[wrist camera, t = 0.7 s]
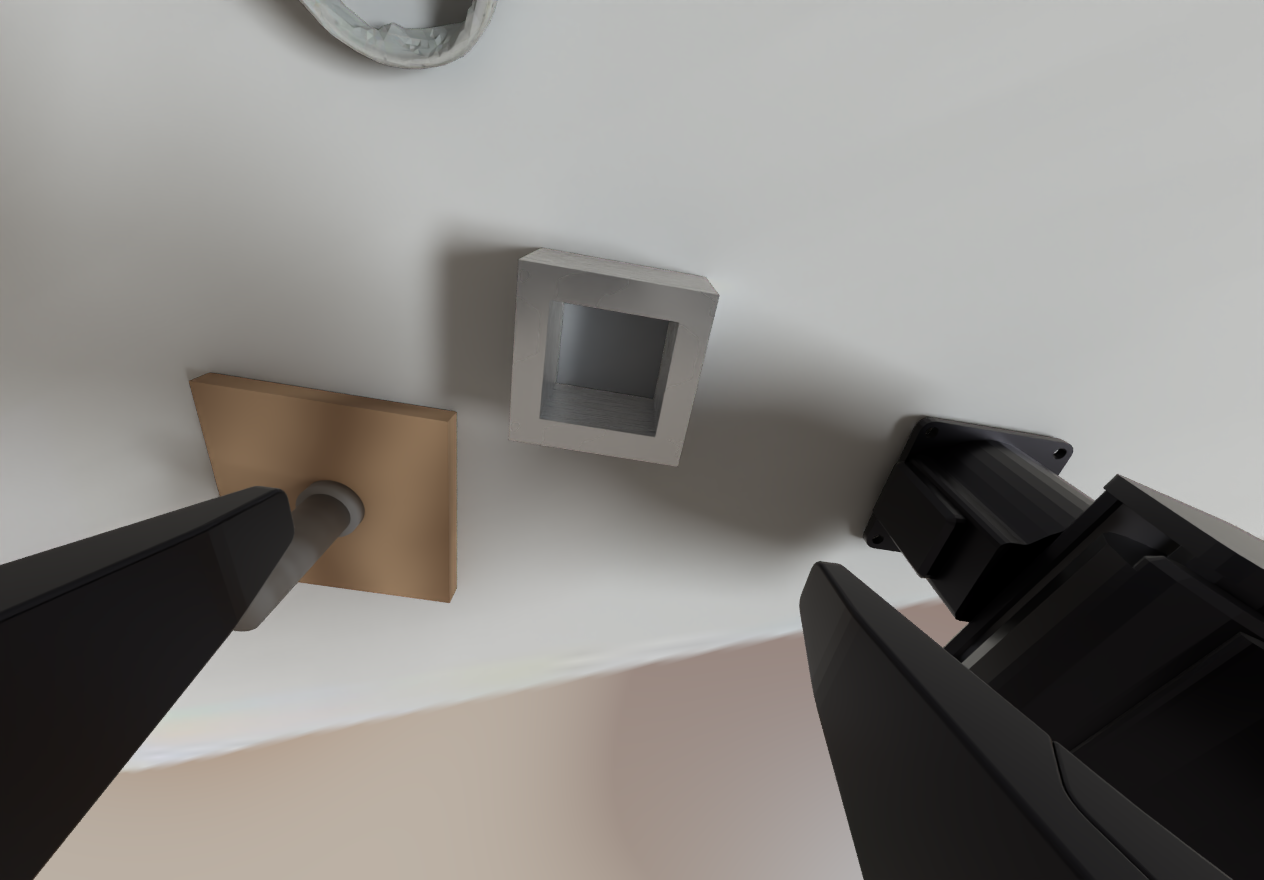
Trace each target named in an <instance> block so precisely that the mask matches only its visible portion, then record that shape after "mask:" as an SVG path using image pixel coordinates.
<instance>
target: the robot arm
mask: <svg viewBox="0 0 1264 880" xmlns="http://www.w3.org/2000/svg"><path fill="white" fill-rule="evenodd" d="M931 427H933V430H932V431H931V432H930V433H928V434H925V433H926V431H927V430H928V429H929V428H931ZM1058 449H1059V450H1058ZM1056 450H1058V451H1057V452H1056V453H1054V452H1055V451H1056ZM1072 453H1073V447H1072V446H1071V445H1070V444H1069V443H1067V442H1065V441H1064V440H1061V439H1058V438H1052V437H1046V436H1040V435H1034V434H1028V433H1022V432H1016V431H1010V430H1004V429H998V428H992V427H986V426H980V425H974V424H968V423H962V422H956V421H950V420H944V419H939V418H933V417H928V418H924V419H922V420H921V421H919V422H918V423H917V424H916V426H915V428H914V430H913V432H912V434H911V436H910V438H909V440H908V442H907V444H906V446H905V448H904V450H903V452H902V454H901V457H900V459H899V461H898V463H897V464H896V465H895V466H894V468H893V470H892V472H891V474H890V476H889V478H888V480H887V483H886V485H885V487H884V489H883V491H882V493H881V495H880V497H879V499H878V501H877V503H876V505H875V507H874V509H873V514H872V517H871V519H870V521H869V523H868V525H867V527H866V529H865V531H864V534H863V538H864V540H865V541H866V543H867V545H868V546H870V547H872V548H876V549H883V550H889V551H896V552H902V554H903V555H904V557H905V558H906V559H907V561H908V562H909V563H910V565H911V566H912V568H913V569H914V570H915V572H916V573H917V575H918V576H919V577H921V578H926V579H927V580H928V582H929V583H930V585H931V586H932V587H933V589H934V590H935V591H936V593H937V594H938V595H939V597H940V598H941V600H942V601H943V602H944V604H945V605H946V606H947V607H948V609H949V610H950V612H951V613H952V614H953V616H954V617H955V619H957V620H959V621H966V622H969V623H968V624H967V625H966V626H965V627H964V628H963V629H962V630H961V631H960V632H959V633H958V634H957V635H956V636H955V637H954V638H952V639H951V640H950V641H949V642H948V643H947V644H946V645H945V646H944V647H943V648H942V647H941V646H940V645H939V644H938V643H936V642H935V641H934V640H933V639H931V638H930V637H929V636H928V635H927V634H925V633H924V632H923V631H922V630H920V629H919V628H918V627H917V626H916V625H914V624H913V623H912V622H911V621H910V620H908V619H907V618H906V617H904V616H903V615H902V614H901V613H900V612H898V611H897V610H896V609H895V608H894V607H892V606H891V605H890V604H889V603H888V602H886V601H885V600H884V599H883V598H882V597H880V596H879V595H878V594H877V593H875V592H874V591H873V590H872V589H871V588H869V587H868V586H867V585H866V584H864V583H863V582H862V581H861V580H860V579H858V578H857V577H856V576H855V575H854V574H852V573H851V572H850V571H849V570H847V569H846V568H845V567H844V566H842V565H840V564H837V563H830V562H822V561H819V562H816V563H815V564H814V565H813V567H812V568H811V571H810V574H809V576H808V579H807V581H806V584H805V586H804V589H803V591H802V594H801V597H800V604H799V607H800V615H801V622H802V628H803V634H804V640H805V646H806V652H807V659H808V665H809V671H810V677H811V682H812V688H813V693H814V698H815V702H816V706H817V710H818V714H819V718H820V721H821V725H822V729H823V732H824V736H825V740H826V743H827V747H828V751H829V754H830V758H831V762H832V765H833V769H834V772H835V776H836V780H837V784H838V787H839V791H840V794H841V798H842V802H843V806H844V809H845V813H846V816H847V820H848V824H849V827H850V831H851V835H852V838H853V842H854V846H855V849H856V853H857V856H858V860H859V864H860V868H861V871H862V875H863V879H864V880H1264V541H1263V540H1261V539H1259V538H1257V537H1255V536H1253V535H1251V534H1250V533H1248V532H1246V531H1244V530H1242V529H1240V528H1238V527H1236V526H1234V525H1232V524H1230V523H1228V522H1226V521H1224V520H1222V519H1219V518H1217V517H1215V516H1212V515H1210V514H1208V513H1206V512H1203V511H1201V510H1199V509H1197V508H1194V507H1192V506H1190V505H1187V504H1185V503H1183V502H1181V501H1178V500H1176V499H1174V498H1172V497H1169V496H1167V495H1165V494H1162V493H1160V492H1158V491H1156V490H1153V489H1151V488H1149V487H1147V486H1144V485H1142V484H1140V483H1137V482H1135V481H1133V480H1131V479H1128V478H1126V477H1124V476H1121V475H1119V474H1117V475H1116V476H1115V477H1114V478H1113V479H1112V480H1111V481H1110V482H1108V483H1107V484H1106V485H1105V486H1104V487H1103V488H1104V489H1105V490H1106V491H1105V492H1104V493H1103V494H1102V495H1101V496H1100V497H1099V498H1098V499H1096V500H1095V501H1094V500H1093V499H1092V498H1090V497H1089V496H1087V495H1086V494H1084V493H1083V492H1081V491H1080V490H1078V489H1077V488H1075V487H1074V486H1072V485H1071V484H1069V483H1068V482H1067V481H1065V480H1064V479H1062V478H1061V477H1059V476H1058V475H1059V473H1060V472H1061V470H1062V469H1063V467H1064V466H1065V465H1066V463H1067V462H1068V460H1069V459H1070V457H1071V455H1072ZM294 534H295V526H294V522H293V517H292V513H291V509H290V504H289V500H288V496H287V494H286V493H285V491H284V490H282V489H279V488H272V487H265V486H253V487H249V488H246V489H243V490H240V491H237V492H233V493H230V494H227V495H224V496H221V497H217V498H214V499H211V500H208V501H205V502H201V503H198V504H195V505H192V506H189V507H185V508H182V509H179V510H176V511H172V512H169V513H166V514H163V515H160V516H156V517H153V518H150V519H147V520H144V521H140V522H137V523H134V524H131V525H128V526H124V527H121V528H118V529H115V530H111V531H108V532H105V533H102V534H99V535H95V536H92V537H89V538H86V539H83V540H79V541H76V542H73V543H70V544H67V545H63V546H60V547H57V548H54V549H50V550H47V551H44V552H41V553H38V554H34V555H31V556H28V557H25V558H22V559H18V560H15V561H12V562H9V563H6V564H2V565H0V880H33V879H34V878H35V877H36V876H37V874H38V873H39V872H40V871H41V869H42V868H43V867H44V866H45V864H46V863H47V862H48V861H49V859H50V858H51V857H52V856H53V854H54V853H55V852H56V851H57V849H58V848H59V847H60V846H61V844H62V843H63V842H64V841H65V839H66V838H67V837H68V835H69V834H70V833H71V832H72V831H73V829H74V828H75V827H76V826H77V824H78V823H79V822H80V821H81V819H82V818H83V817H84V816H85V814H86V813H87V812H88V811H89V809H90V808H91V807H92V806H93V804H94V803H95V802H96V801H97V800H98V798H99V797H100V796H101V795H102V793H103V792H104V791H105V790H106V788H107V787H108V786H109V784H110V783H111V782H112V781H113V780H114V778H115V777H116V776H117V775H118V773H119V772H120V771H121V770H122V768H123V767H124V766H125V765H126V763H127V762H128V761H129V760H130V758H131V757H132V756H133V755H134V753H135V752H136V751H137V750H138V748H139V747H140V746H141V745H142V743H143V742H144V741H145V740H146V738H147V737H148V736H149V735H150V733H151V732H152V731H153V730H154V728H155V727H156V726H157V725H158V723H159V722H160V721H161V720H162V718H163V717H164V716H165V715H166V713H167V712H168V711H169V710H170V708H171V707H172V706H173V705H174V703H175V702H176V701H177V700H178V698H179V697H180V696H181V695H182V694H183V692H184V691H185V690H186V689H187V687H188V686H189V685H190V684H191V682H192V681H193V680H194V679H195V677H196V676H197V675H198V674H199V672H200V671H201V670H202V669H203V667H204V666H205V665H206V664H207V662H208V661H209V660H210V659H211V657H212V656H213V655H214V654H215V652H216V651H217V650H218V649H219V647H220V646H221V645H222V644H223V642H224V641H225V640H226V639H227V637H228V636H229V635H230V633H231V632H232V631H233V630H234V628H235V627H236V626H237V624H238V623H239V621H240V620H241V619H242V617H243V616H244V614H245V613H246V611H247V610H248V609H249V607H250V606H251V604H252V602H253V601H254V599H255V598H256V596H257V595H258V593H259V592H260V590H261V589H262V587H263V586H264V584H265V583H266V581H267V580H268V578H269V577H270V575H271V574H272V572H273V570H274V569H275V567H276V566H277V564H278V563H279V561H280V560H281V558H282V557H283V555H284V554H285V552H286V551H287V549H288V548H289V546H290V545H291V543H292V540H293V538H294ZM877 535H879V536H878V537H877V538H874V537H875V536H877Z"/></svg>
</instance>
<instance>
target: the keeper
mask: <svg viewBox="0 0 1264 880" xmlns="http://www.w3.org/2000/svg"><path fill="white" fill-rule="evenodd" d="M189 384H190V387H191V391H192V395H193V398H194V402H195V406H196V410H197V413H198V417H199V421H200V424H201V428H202V432H203V435H204V439H205V443H206V447H207V450H208V454H209V458H210V461H211V465H212V469H213V472H214V476H215V480H216V484H217V487H218V491H219V495H220V497H221V496H224V495H227V494H230V493H233V492H237V491H240V490H243V489H246V488H249V487H253V486H265V487H272V488H279V489H282V490H284V491H285V493H286V494H287V496H288V500H289V504H290V509H291V513H292V517H293V522H294V526H295V534H294V538H293V540H292V543H291V545H290V546H289V548H288V549H287V551H286V552H285V554H284V555H283V557H282V558H281V560H280V561H279V563H278V564H277V566H276V567H275V569H274V570H273V572H272V574H271V575H270V577H269V578H268V580H267V581H266V583H265V584H264V586H263V587H262V589H261V590H260V592H259V593H258V595H257V596H256V598H255V599H254V601H253V602H252V604H251V606H250V607H249V609H248V610H247V611H246V613H245V614H244V616H243V617H242V619H241V620H240V621H239V623H238V624H237V626H236V627H235V628H234V631H250V630H253V629H255V628H257V627H258V626H259V625H260V624H261V623H262V622H263V620H264V619H265V618H266V617H267V616H268V615H269V614H270V613H271V611H272V610H273V609H274V608H275V607H276V606H277V605H278V604H279V603H280V601H281V600H282V599H283V598H284V597H285V596H286V595H287V594H288V593H289V591H290V590H291V589H292V588H293V587H294V586H295V585H296V584H297V582H301V583H308V584H315V585H323V586H330V587H337V588H344V589H352V590H359V591H366V592H373V593H381V594H388V595H395V596H402V597H410V598H417V599H424V600H432V601H439V602H446V603H450V601H451V599H452V597H453V595H454V593H455V591H456V589H457V412H454V411H448V410H442V409H435V408H429V407H423V406H417V405H410V404H404V403H398V402H391V401H385V400H379V399H373V398H366V397H360V396H354V395H348V394H341V393H335V392H329V391H322V390H316V389H310V388H304V387H297V386H291V385H285V384H278V383H272V382H266V381H260V380H253V379H247V378H241V377H234V376H228V375H222V374H216V373H207V374H205V375H202V376H200V377H197V378H195V379H192V380H190V381H189Z"/></svg>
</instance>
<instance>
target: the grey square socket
mask: <svg viewBox="0 0 1264 880" xmlns="http://www.w3.org/2000/svg"><path fill="white" fill-rule="evenodd" d="M718 299H719V294H718V292H717V291H716V290H715V288H714V287H713V286H712V284H711V283H710V282H709V280H708V279H707V278H706V277H702V276H697V275H691V274H686V273H680V272H674V271H669V270H663V269H658V268H652V267H647V266H641V265H635V264H630V263H624V262H619V261H613V260H607V259H602V258H596V257H591V256H585V255H580V254H574V253H568V252H563V251H557V250H552V249H546V248H540V249H538V250H536V251H534V252H532V253H530V254H528V255H526V256H524V257H522V258H520V259H518V275H517V293H516V311H515V329H514V347H513V366H512V384H511V402H510V420H509V439H508V440H511V441H517V442H524V443H530V444H537V445H543V446H549V447H556V448H562V449H568V450H575V451H581V452H588V453H594V454H600V455H607V456H613V457H619V458H626V459H632V460H639V461H645V462H651V463H658V464H664V465H670V466H677V467H678V464H679V460H680V455H681V451H682V447H683V443H684V439H685V435H686V431H687V427H688V423H689V418H690V414H691V410H692V406H693V402H694V398H695V394H696V390H697V386H698V382H699V377H700V373H701V369H702V365H703V361H704V357H705V353H706V349H707V345H708V340H709V336H710V332H711V328H712V324H713V320H714V316H715V312H716V308H717V303H718ZM564 303H570V304H576V305H582V306H587V307H593V308H599V309H605V310H610V311H616V312H622V313H628V314H634V315H639V316H645V317H651V318H657V319H662V320H668V321H669V325H668V330H667V335H666V340H665V345H664V350H663V355H662V360H661V365H660V370H659V375H658V380H657V384H656V389H655V394H654V399H651V398H645V397H639V396H633V395H627V394H621V393H614V392H608V391H602V390H596V389H590V388H584V387H578V386H572V385H566V384H560V383H556V380H557V370H558V360H559V350H560V340H561V330H562V320H563V310H564Z"/></svg>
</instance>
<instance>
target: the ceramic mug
mask: <svg viewBox="0 0 1264 880" xmlns="http://www.w3.org/2000/svg"><path fill="white" fill-rule="evenodd" d="M299 1H300V2H301V3H302V4H303V5H304V6H305V7H306V9H307V10H308V11H309V12H310V13H311V14H312V15H313V16H314V17H315V19H316V20H317V21H318V22H319V23H320V24H321V25H322V26H323V27H324V28H325V29H326V30H327V31H328V32H329V33H330V34H331V35H333V36H334V37H335V38H337V39H338V40H340V41H341V42H343V43H344V44H346V45H347V46H349V47H350V48H352V49H353V50H355V51H357V52H359V53H361V54H363V55H364V56H366V57H368V58H370V59H372V60H374V61H376V62H378V63H381V64H384V65H388V66H394V67H399V68H403V69H425V68H431V67H437V66H443V65H446V64H448V63H450V62H452V61H455V60H457V59H459V58H461V57H463V56H464V55H465V54H466V53H468V52H469V51H470V50H471V48H472V47H473V46H474V45H475V44H476V42H477V41H478V39H479V38H480V36H481V35H482V33H483V32H484V30H485V29H486V28H487V26H488V25H489V23H490V21H491V18H492V16H493V13H494V10H495V8H496V4H497V0H473V2H472V6H471V7H470V8H469V9H468V12H467V17H466V20H465V21H463V22H461V23H456V24H449V25H443V26H438V27H434V28H423V29H405V28H403V27H401V26H399V25H397V24H395V23H390V24H387V25H384V26H383V27H382V28H380V29H379V30H377V29H375V28H373V27H371V26H369V25H368V24H367V23H366V22H365V21H363V20H362V19H361V18H360V17H359V16H357V15H356V14H355V13H354V12H353V11H351V10H350V9H349V8H348V7H346V6H345V5H344V4H343V2H342V1H341V0H299Z"/></svg>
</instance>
